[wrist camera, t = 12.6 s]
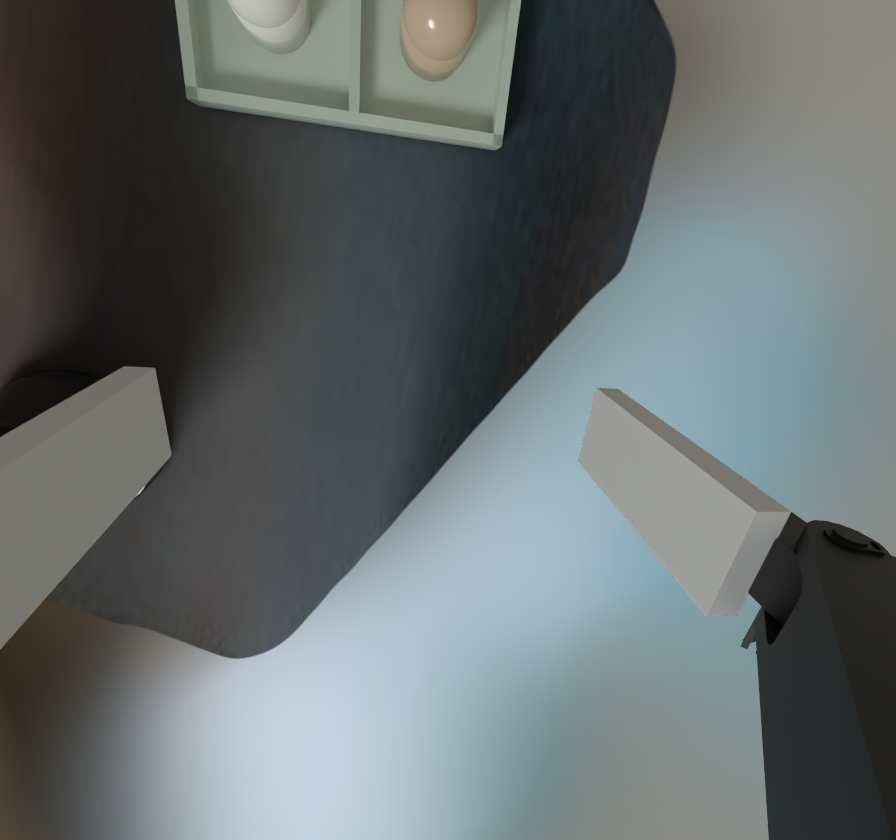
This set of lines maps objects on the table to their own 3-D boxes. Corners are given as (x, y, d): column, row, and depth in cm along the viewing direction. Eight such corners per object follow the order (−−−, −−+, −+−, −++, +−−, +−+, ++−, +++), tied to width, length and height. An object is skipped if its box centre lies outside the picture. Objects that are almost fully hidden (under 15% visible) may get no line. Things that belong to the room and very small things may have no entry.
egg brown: (397, 75, 34) (402, 40, 28) (401, -10, 32) (407, -72, 25) (461, 86, 35) (480, 54, 28) (468, 4, 33) (491, -52, 26)
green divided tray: (198, 106, 34) (186, 98, 32) (172, -130, 29) (155, -159, 26) (494, 150, 38) (501, 146, 36) (520, -48, 33) (530, -67, 31)
